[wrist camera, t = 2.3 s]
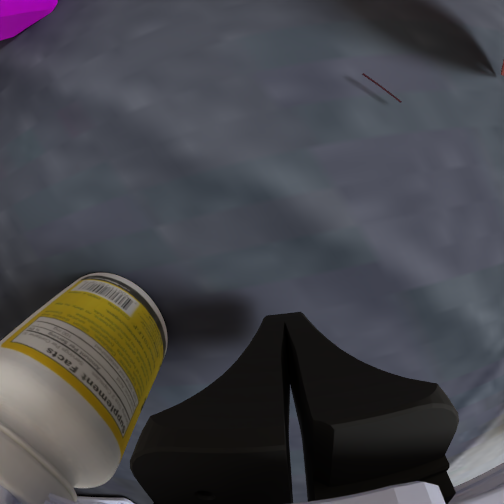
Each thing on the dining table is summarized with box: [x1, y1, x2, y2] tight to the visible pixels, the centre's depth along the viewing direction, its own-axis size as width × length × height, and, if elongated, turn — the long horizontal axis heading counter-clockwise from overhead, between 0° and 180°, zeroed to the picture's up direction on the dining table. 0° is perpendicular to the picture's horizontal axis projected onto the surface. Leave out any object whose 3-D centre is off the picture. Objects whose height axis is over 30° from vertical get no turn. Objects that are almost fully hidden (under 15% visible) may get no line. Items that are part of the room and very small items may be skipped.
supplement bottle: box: [0, 273, 168, 504], centre depth 8 cm, size 5×5×10 cm
